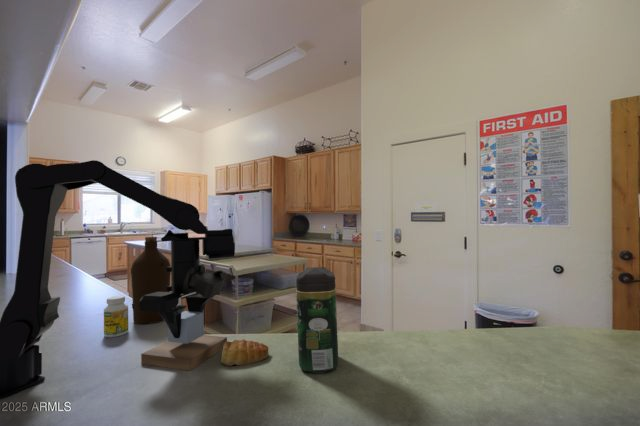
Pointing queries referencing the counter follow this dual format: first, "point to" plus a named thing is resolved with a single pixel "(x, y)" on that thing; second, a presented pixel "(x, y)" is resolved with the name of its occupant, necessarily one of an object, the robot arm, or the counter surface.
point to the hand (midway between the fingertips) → (186, 333)
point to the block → (189, 327)
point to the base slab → (183, 353)
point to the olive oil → (148, 280)
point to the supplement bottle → (115, 317)
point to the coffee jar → (317, 320)
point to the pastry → (243, 352)
